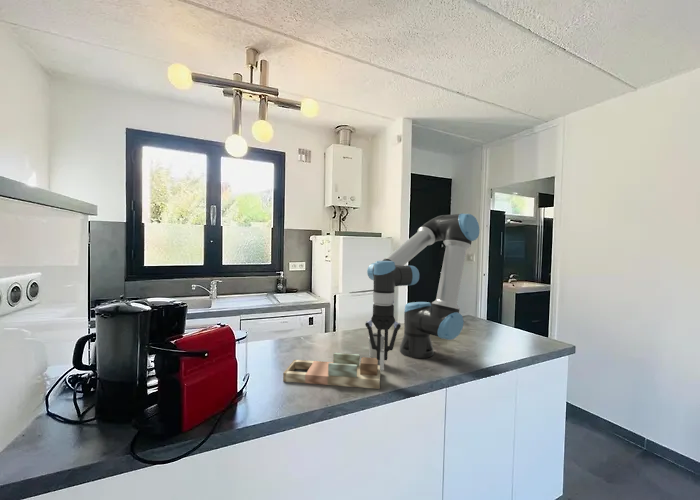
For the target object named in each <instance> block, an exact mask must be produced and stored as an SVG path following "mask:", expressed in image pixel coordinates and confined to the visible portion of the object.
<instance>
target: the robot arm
mask: <svg viewBox="0 0 700 500" xmlns="http://www.w3.org/2000/svg"><path fill="white" fill-rule="evenodd" d="M479 235H480V225H479V221H478V219H477V218H476V217H475V216H474V215H473V214H471V213H463V212H462V213H457V214H442V215H437V216H436V217H434V218H431V219H429V220H428V221H427V222H425V223H423V225H421V226H420V227H419V228H418V229H417V232H415V234H414V235H412V236H411V237H410V238H409V239H407V240H406V241H405V242H403V243H402V244H401V245H399V246H398V247H396V249H395V250H393V251H392V252H391V253H390V254H388V255H387V256H386V257H385V258H383V259H382V260H376V261H375V262H372V263H371V264H370V265H368V267H367V272H366V273H367V276H368V278H369V279H370V280H371V281H373V288H372V289H373V291H372V292H373V293H372V302H373V304H372V317H371V318H370V320H368V321H366V322H365V327H366V329H367V332H368V336H370V341H371V346H372V349H375V350H376V351H377V360H380V371H384V370H385V361H387V360H388V352H389V351H393V349H394V345H395V342H396V338H397V334H398V331H399V330H400V329H401V323H400V322H398V321H396V319H395V315H394V313H395V312H394V311H395V305H394V303H395V288H396V287H402V286H405V287H406V286H410V287H411V286H414V285H416V284H417V283H418V282H419V280H420V272H419V269H418V268H417V267H416V266H414V265H410V264H409V265H408V264H407V263H409V262H410V261H411V260H412V259H414V257H416V256H417V255H418V254H419V253H420V252H422V251H423V250H424V249H425V248H427V246H431V245H433V244H435V243H436V242H441V241H443V242H442V243H443V244H444V246H445V251H444V255H443V259H442V260H443V261H442V267H441V271H440V275H439V277H440V278H439V283H438V287H437V293H436V296H435V297H436V298H435V300H434V301H432V302H429V301H428V302H427V301H416V302H415V301H412V302H408V303H406V304H405V305H404V313H403V314H404V324H403V325H404V326H403V327H404V330H403V332H404V333H403V337H402V340H401V343H400V346H399V352H400V353H401V354H402V355H404V356H406V357H409V358H415V359H426V358H432V357H433V356H434V353H435V351H434V350H435V349H434V346H433V342H432V340H431V336H434V337H437V338H439V339H442V340H449V341H451V340H455V339H456V338H457V337H458V336H459V335H460V334H461V332H462V330H463V327H464V317H463V315H462V314H461V313H460V307H459V306H458V298H459V293H460V288H461V282H462V276H463V272H464V271H463V270H464V265H465V261H466V253H467V250H468V249H469V248H471V246H472V243H473V242H474V241H476V240H477V239H478V238H479ZM406 264H407V265H406ZM373 326H374V327H375V328H376V329H377V332H376V333H377V345H375V340H374V336H373V333H374V332H373ZM392 326H393V327H394V328H393V330H392V336H391V340H390V343H389V330H390V329H391V327H392ZM382 331H384V337H385V338H384V348H383V350H381V349H380V346H381V334H382Z"/></svg>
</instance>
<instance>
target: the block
mask: <svg viewBox="0 0 700 500" xmlns="http://www.w3.org/2000/svg"><path fill="white" fill-rule="evenodd" d="M377 370H378V360H377V358H370V357H367V356H366V357H365V356H363V357H361V359H360V374H361V375H375V376H377Z"/></svg>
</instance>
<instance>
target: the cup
mask: <svg viewBox="0 0 700 500" xmlns="http://www.w3.org/2000/svg"><path fill="white" fill-rule="evenodd" d="M373 336H374V340H375V345H377V332H373ZM384 338H385V334H383V333H381V346H380V349H381V350H384ZM367 339H368V349H369V350H368V352H369V354H368V355H369V358H377V351H376V350H375V349H372V346H371V341H370V336H369V335H368V336H367ZM378 365H380V360H378Z"/></svg>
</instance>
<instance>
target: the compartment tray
mask: <svg viewBox="0 0 700 500" xmlns="http://www.w3.org/2000/svg"><path fill="white" fill-rule="evenodd" d="M332 356H333V358H332V359H333V360H332V361H320V360H319V361H318V360H308V359H307V360H305V359H293V360H292V361H291V363H289V365H288V367H287V368H286V369H285V370H284V371H283V374H282V375H283V377H282V378H283V379H282V381H283V382H287V383H300V384H311V385H324V386H325V385H326V386H338V387H351V388H365V389H377V390H378V389H380V384H381V370H380V365H378V370H377V376H375V375H361V374H360V363H361V359H360V356H361V355H360V354H359V353H342V352H341V353H340V352H333V355H332Z"/></svg>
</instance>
